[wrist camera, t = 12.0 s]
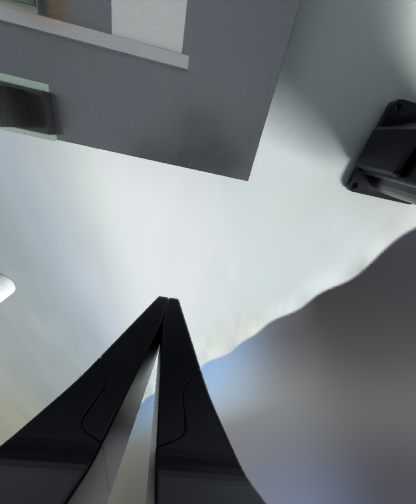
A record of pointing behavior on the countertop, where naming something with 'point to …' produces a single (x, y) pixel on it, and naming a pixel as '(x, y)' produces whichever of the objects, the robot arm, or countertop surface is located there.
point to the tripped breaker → (27, 1)
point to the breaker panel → (146, 76)
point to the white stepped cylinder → (5, 287)
